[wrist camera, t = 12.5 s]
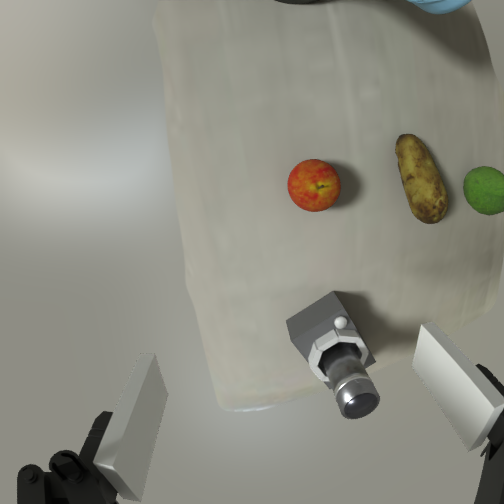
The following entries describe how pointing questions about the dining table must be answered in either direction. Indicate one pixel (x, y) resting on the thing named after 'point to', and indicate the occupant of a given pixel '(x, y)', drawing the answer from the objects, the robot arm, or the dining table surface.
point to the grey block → (325, 333)
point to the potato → (421, 180)
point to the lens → (349, 381)
